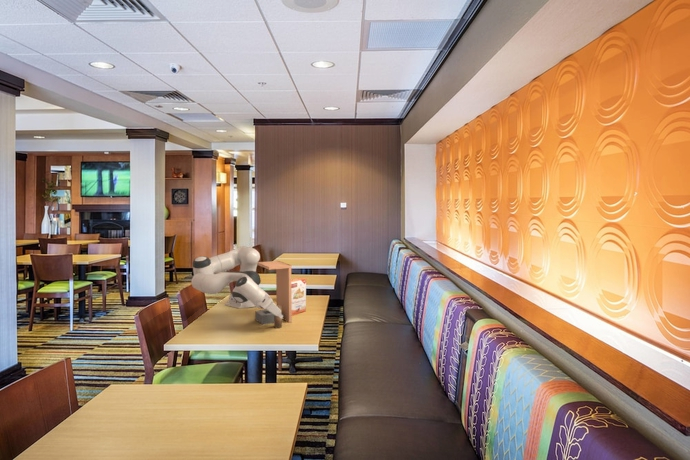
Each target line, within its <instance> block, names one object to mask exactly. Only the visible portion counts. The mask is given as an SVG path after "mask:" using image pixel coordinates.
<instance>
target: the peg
mask: <svg viewBox="0 0 690 460" xmlns="http://www.w3.org/2000/svg"><path fill="white" fill-rule="evenodd" d="M276 306H277V307H278V308H279V309H280V310H281V314H282V306H281V305H277V304H276ZM282 323H283V318H282V319H281V318H280V317H279V316H275V315H274V323H273V324H274V326H273V327H274V329H281V328H282V326H283V325H282Z"/></svg>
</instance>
